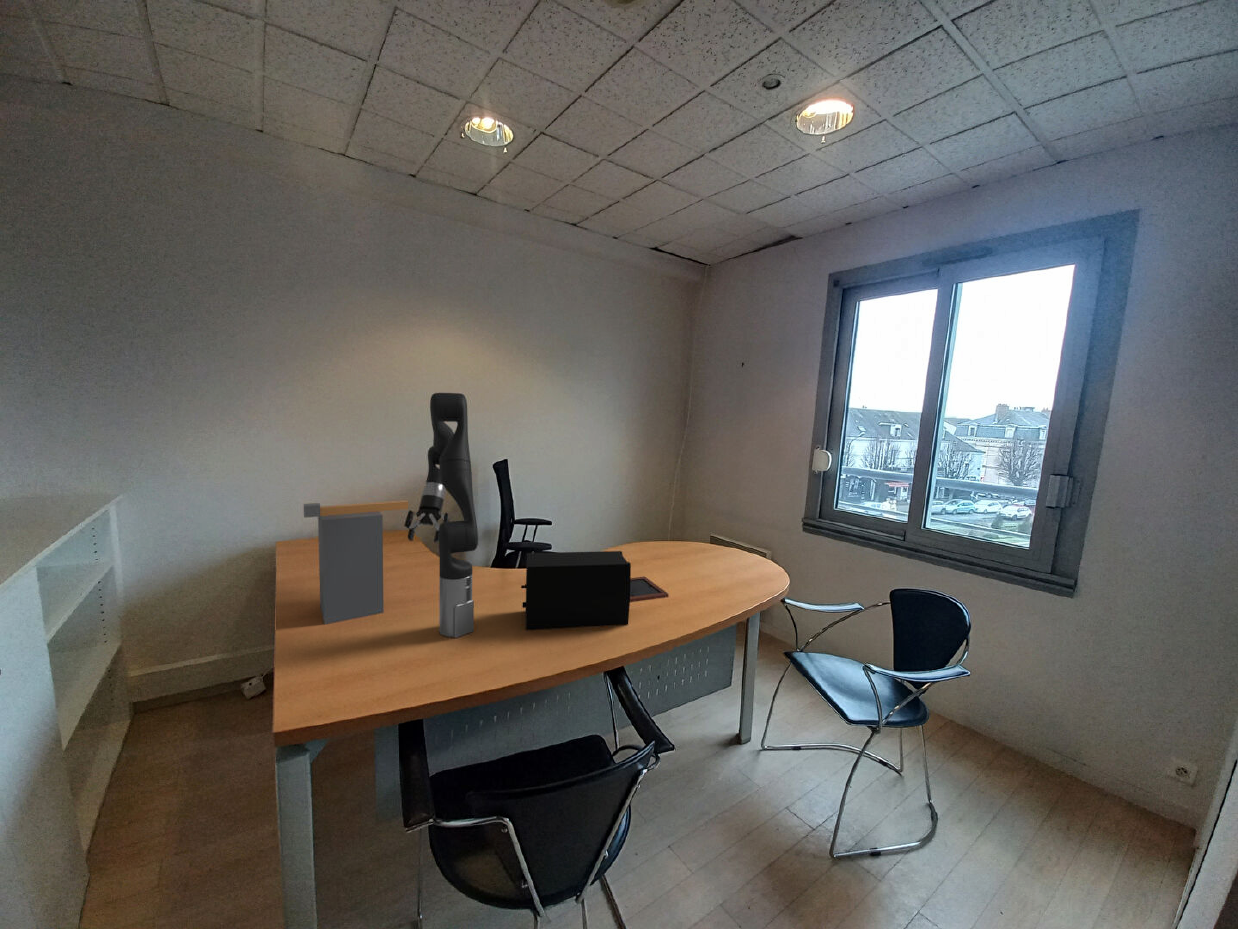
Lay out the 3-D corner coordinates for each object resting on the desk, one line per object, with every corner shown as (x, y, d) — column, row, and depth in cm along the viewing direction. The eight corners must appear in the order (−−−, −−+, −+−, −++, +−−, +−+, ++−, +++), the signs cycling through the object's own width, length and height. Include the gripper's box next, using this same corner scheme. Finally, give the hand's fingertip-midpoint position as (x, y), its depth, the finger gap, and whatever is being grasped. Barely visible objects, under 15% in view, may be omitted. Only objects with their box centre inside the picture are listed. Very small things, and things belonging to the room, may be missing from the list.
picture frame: (606, 607, 158) (668, 598, 168) (606, 601, 158) (668, 593, 167) (587, 587, 176) (644, 580, 186) (587, 582, 176) (644, 575, 186)
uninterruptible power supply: (628, 626, 142) (631, 565, 140) (520, 632, 135) (521, 568, 133) (618, 605, 158) (620, 550, 156) (520, 610, 151) (521, 552, 149)
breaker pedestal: (375, 595, 158) (374, 506, 155) (384, 612, 145) (383, 514, 142) (320, 606, 148) (317, 510, 145) (324, 624, 135) (322, 520, 132)
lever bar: (405, 507, 155) (405, 497, 155) (408, 509, 152) (408, 499, 152) (303, 515, 138) (303, 503, 137) (304, 517, 135) (304, 506, 134)
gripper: (455, 502, 166) (446, 545, 160) (416, 499, 166) (405, 542, 159) (450, 495, 160) (440, 540, 153) (409, 492, 159) (398, 537, 152)
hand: (423, 541), depth 156 cm, fingers open, 8 cm apart
